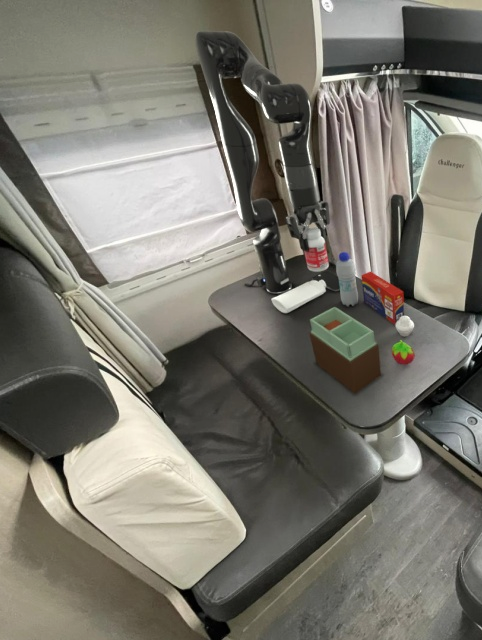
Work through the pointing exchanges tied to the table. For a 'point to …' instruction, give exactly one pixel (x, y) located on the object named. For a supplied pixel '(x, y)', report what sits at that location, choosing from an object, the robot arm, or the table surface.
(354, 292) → the bottle
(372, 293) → the red cardboard box
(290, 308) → the squeeze bottle
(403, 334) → the muffin
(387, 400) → the table surface
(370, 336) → the rack
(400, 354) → the strawberry
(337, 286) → the smartphone
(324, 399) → the table surface
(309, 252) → the pill bottle
